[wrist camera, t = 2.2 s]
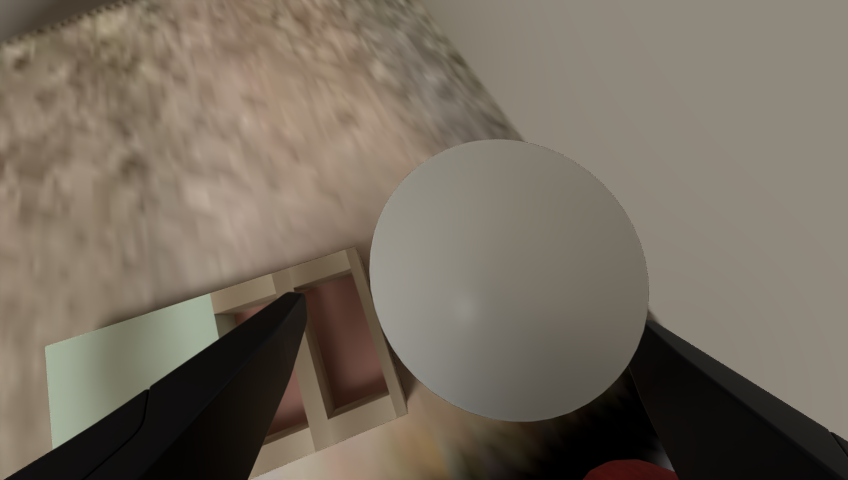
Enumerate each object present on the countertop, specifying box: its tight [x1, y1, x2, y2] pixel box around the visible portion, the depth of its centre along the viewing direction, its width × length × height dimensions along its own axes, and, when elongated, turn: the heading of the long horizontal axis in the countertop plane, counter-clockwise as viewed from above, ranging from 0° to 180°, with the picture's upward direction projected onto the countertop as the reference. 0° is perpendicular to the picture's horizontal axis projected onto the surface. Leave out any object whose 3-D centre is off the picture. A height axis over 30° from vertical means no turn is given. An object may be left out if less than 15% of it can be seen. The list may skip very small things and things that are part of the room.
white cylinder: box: [369, 139, 649, 422], centre depth 11 cm, size 5×5×12 cm
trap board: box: [45, 246, 408, 480], centre depth 15 cm, size 14×8×2 cm, turn 110°
